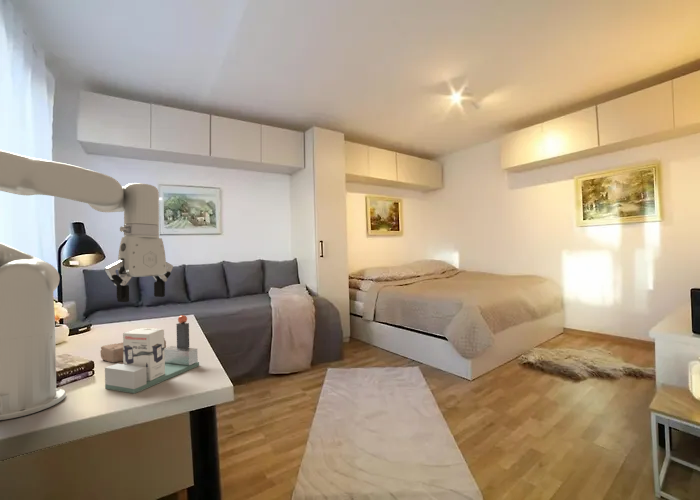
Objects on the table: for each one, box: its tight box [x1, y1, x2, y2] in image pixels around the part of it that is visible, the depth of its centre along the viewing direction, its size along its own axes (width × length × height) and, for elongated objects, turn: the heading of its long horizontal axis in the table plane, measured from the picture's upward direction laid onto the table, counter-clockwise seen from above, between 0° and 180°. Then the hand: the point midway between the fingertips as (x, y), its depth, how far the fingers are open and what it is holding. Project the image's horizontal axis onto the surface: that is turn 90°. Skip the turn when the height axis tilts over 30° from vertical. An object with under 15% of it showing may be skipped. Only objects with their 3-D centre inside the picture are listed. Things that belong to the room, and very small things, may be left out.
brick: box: [100, 337, 167, 363], centre depth 104 cm, size 17×8×5 cm, turn 151°
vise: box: [104, 361, 200, 394], centre depth 84 cm, size 19×10×5 cm, turn 160°
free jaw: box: [164, 314, 199, 365], centre depth 92 cm, size 4×10×13 cm, turn 70°
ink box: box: [122, 327, 165, 381], centre depth 81 cm, size 8×5×12 cm, turn 77°
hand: (142, 299), depth 81 cm, fingers open, 9 cm apart
